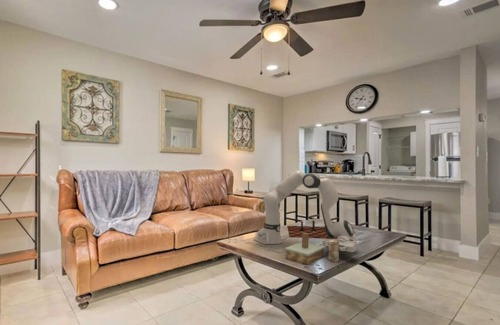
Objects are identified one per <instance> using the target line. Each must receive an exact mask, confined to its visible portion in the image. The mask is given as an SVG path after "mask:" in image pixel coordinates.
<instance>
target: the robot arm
mask: <svg viewBox="0 0 500 325" xmlns="http://www.w3.org/2000/svg"><path fill="white" fill-rule="evenodd" d="M301 185H303V186H304V187H305V188H307V189H317V190H318V191H319V193H320V195H321V204H320V209H321V214H322V219H323V224H324V227H325V232H326V235H327V236H328V237H330V238H332V239H323V240H322V246H324V247H325V248H326V249H327V248H328V249H329V241H331V240H334V239H333V238H336V237H338V238H337V239H335V240H336V241H339V251H340V252H347V253H348V252H349V253H354V252H356V247H357V246H356V245H357V244H356V243H357V241H358V239H357V235H356V234H355V232H354V227H353V226H352V224H351V223H350V222H349V221H348V220H345V219H344V220H341V221H337V222H334V223H333V222H332V218H331V213H330V210H331V208H332V207H333V206H335V205H336V204H337V203H338V201H339V195H338V192H337V188H336V187H335V184H334V183H333V182H332V180H331V179H330V178H329V177H323V178H320V175H318V174H317V173H313V172H310V173H306V174H305V173H304V172H303V171H301V170H295V171H293V172H292V173H290V174H289V175H288V176H286V177H285V178H284V179H283V180H281V181H280V182H279V183H278V185H276V187H274V189H272V190H271V191H269V192H267V193H265V195H264V196H263V198H262V200H263V202H262V203H264V211H265V222H264V223H262V226H263V227H262V228H260V229H259V230H258V231H257V233H256V236H255V237H253V240H254V241H257V242H259V243H261V244H264V245H277V244H282V242H283V241H282V235H281V212H280V207H279V206H280V205H279V204H281V202H283V200H285V199H286V198H287V197H288V196H289V195H290V194H291V193H293V192H294V191H295V190H297V189H298V188H299V187H300V186H301Z"/></svg>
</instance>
